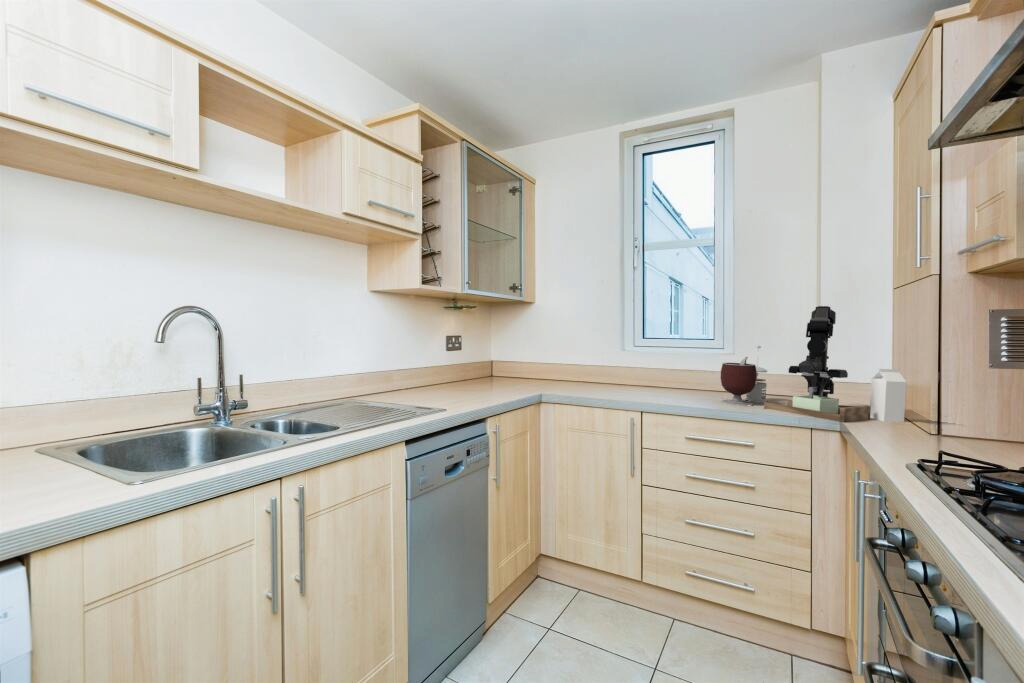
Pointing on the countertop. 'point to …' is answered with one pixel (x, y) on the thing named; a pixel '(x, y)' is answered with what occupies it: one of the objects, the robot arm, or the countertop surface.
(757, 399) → the french press
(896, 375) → the milk carton
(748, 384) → the mate gourd
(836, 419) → the bay
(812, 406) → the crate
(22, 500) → the countertop surface
